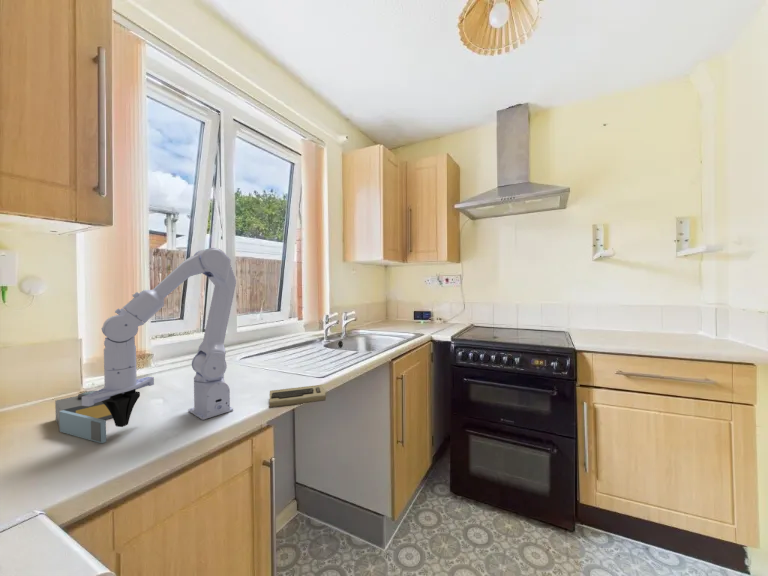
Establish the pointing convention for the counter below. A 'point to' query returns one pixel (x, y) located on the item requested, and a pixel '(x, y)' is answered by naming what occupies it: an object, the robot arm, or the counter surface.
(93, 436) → the side door
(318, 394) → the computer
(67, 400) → the camera body
